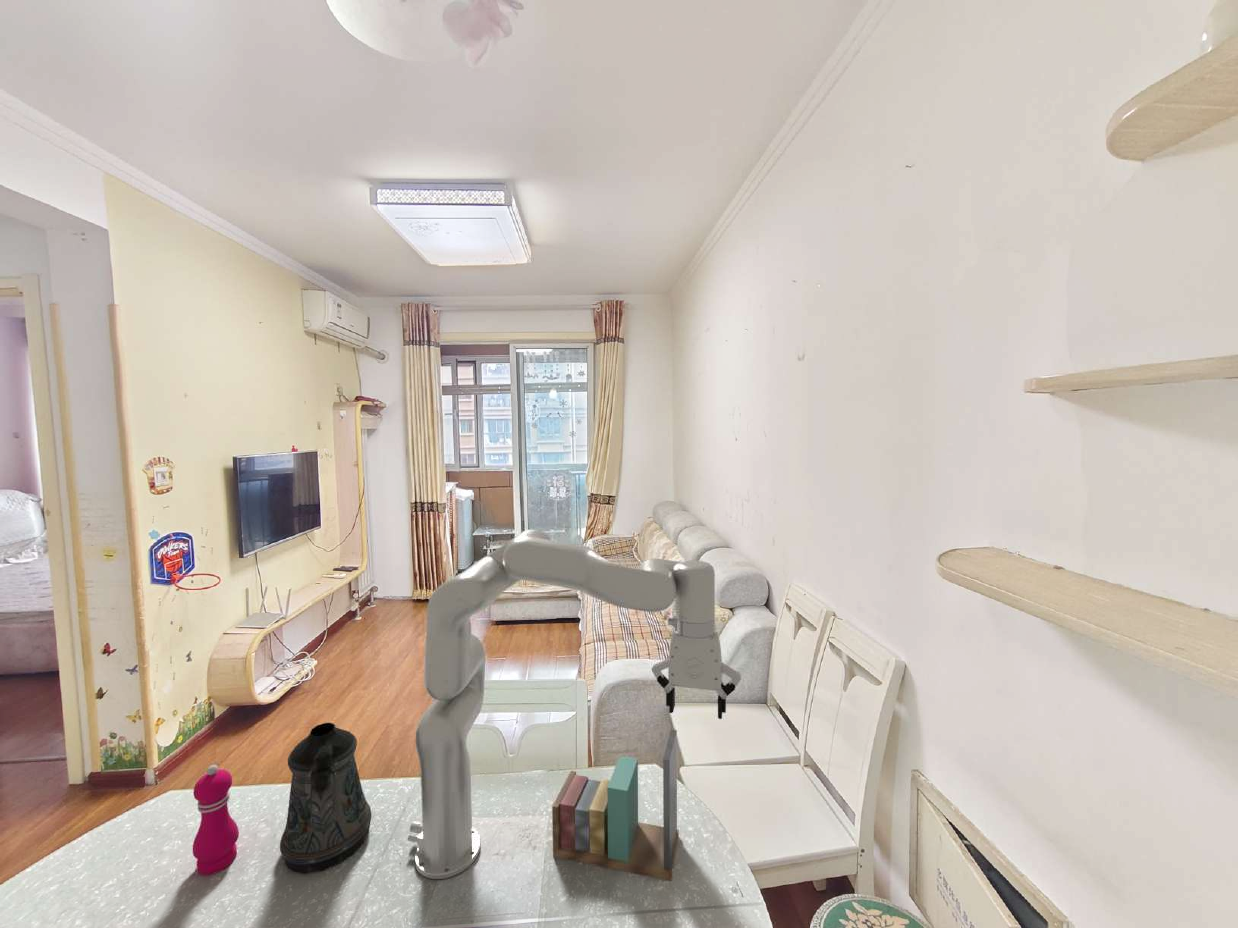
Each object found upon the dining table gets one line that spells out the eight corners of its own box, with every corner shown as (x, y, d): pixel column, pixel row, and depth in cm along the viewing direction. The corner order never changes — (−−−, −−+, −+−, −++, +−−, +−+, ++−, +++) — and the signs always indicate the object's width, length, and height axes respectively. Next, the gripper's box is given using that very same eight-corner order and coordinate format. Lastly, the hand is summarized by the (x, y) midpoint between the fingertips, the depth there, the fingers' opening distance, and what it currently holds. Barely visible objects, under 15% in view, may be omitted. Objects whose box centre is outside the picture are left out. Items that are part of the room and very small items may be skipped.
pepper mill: (184, 871, 98) (179, 773, 97) (224, 843, 105) (219, 751, 104) (209, 882, 96) (203, 781, 95) (248, 852, 103) (243, 758, 102)
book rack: (553, 855, 101) (552, 806, 101) (571, 815, 112) (570, 770, 111) (670, 881, 95) (670, 828, 95) (678, 836, 106) (678, 788, 106)
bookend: (663, 868, 96) (663, 759, 95) (671, 828, 106) (671, 729, 105) (669, 869, 96) (669, 760, 95) (676, 829, 106) (676, 729, 104)
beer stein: (347, 802, 117) (343, 697, 116) (395, 839, 106) (391, 724, 105) (266, 850, 103) (260, 733, 102) (311, 899, 92) (305, 768, 91)
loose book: (608, 858, 99) (607, 787, 98) (620, 820, 109) (619, 755, 108) (627, 861, 98) (627, 790, 97) (638, 823, 108) (637, 758, 107)
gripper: (647, 629, 96) (648, 717, 97) (741, 637, 91) (741, 728, 92) (654, 615, 103) (655, 697, 104) (741, 622, 99) (741, 707, 100)
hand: (695, 712), depth 98 cm, fingers open, 9 cm apart
